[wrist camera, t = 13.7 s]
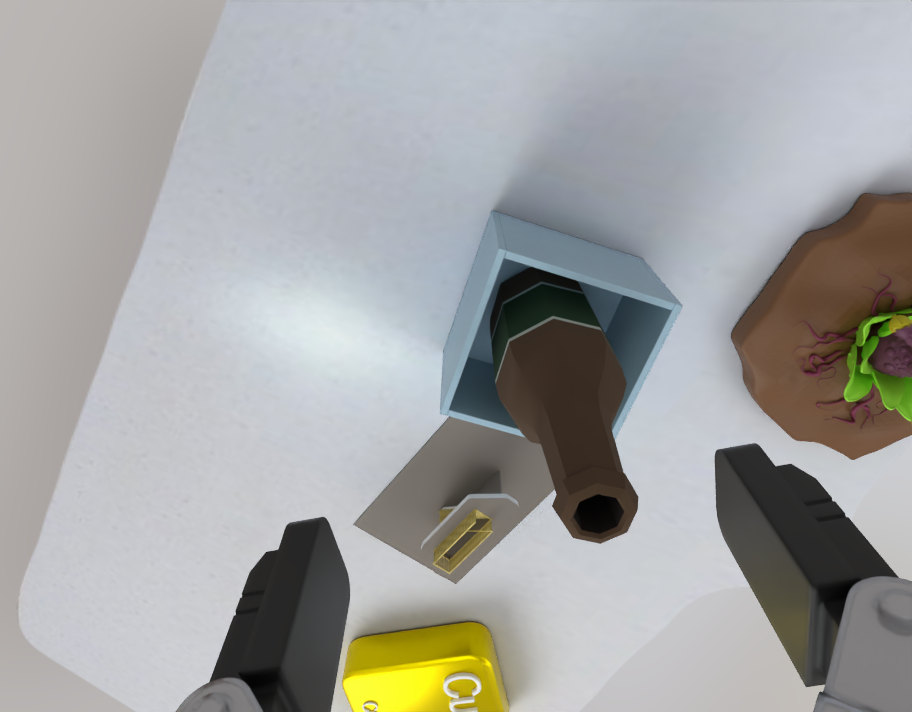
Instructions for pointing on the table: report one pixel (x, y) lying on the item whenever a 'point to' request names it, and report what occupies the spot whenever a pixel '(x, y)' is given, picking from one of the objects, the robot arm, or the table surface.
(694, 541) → the table surface
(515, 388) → the beer bottle
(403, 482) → the platform
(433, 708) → the element tile
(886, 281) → the plant
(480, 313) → the case
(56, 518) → the table surface
